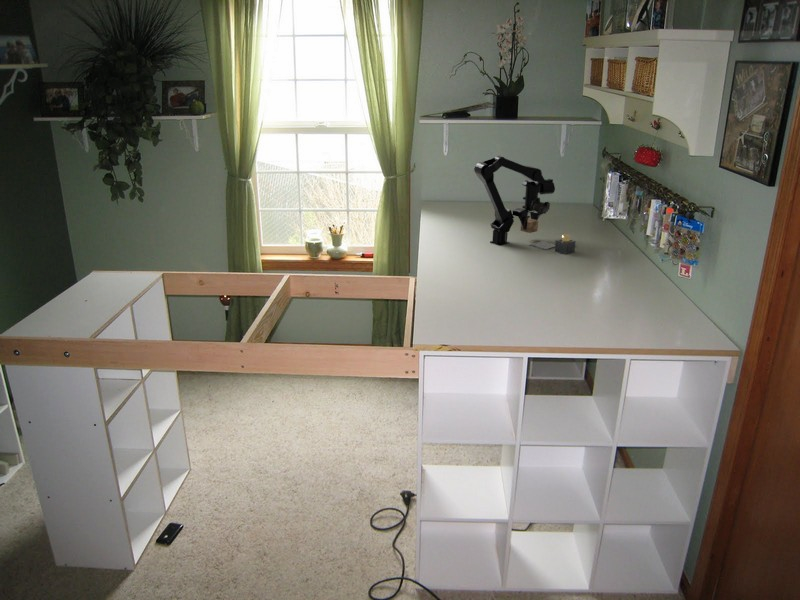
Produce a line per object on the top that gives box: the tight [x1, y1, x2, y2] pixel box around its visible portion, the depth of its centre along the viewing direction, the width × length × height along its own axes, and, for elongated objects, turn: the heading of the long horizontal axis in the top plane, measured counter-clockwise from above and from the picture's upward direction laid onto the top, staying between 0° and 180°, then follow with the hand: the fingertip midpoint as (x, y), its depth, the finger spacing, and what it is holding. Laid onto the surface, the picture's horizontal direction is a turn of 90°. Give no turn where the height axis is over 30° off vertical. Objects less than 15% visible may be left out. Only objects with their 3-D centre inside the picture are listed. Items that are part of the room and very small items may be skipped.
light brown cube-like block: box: [520, 217, 539, 234], centre depth 299 cm, size 6×6×5 cm
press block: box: [554, 238, 577, 255], centre depth 283 cm, size 6×6×5 cm
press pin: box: [561, 233, 572, 242], centre depth 282 cm, size 4×4×5 cm
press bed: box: [529, 240, 556, 251], centre depth 293 cm, size 9×9×1 cm
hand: (529, 228), depth 300 cm, fingers closed on light brown cube-like block, 5 cm apart
